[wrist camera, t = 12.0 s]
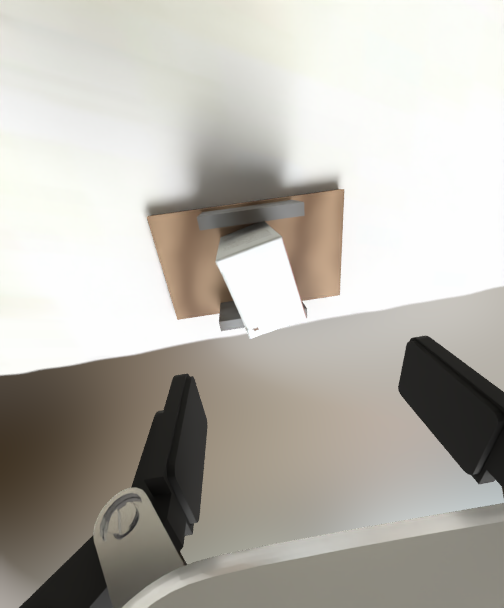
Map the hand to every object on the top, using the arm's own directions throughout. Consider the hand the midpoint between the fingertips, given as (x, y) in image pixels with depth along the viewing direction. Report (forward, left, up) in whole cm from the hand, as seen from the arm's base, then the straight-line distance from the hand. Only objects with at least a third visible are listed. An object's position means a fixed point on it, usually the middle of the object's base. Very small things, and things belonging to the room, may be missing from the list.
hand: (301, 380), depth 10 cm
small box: (0, 0, -21) cm, 21 cm away
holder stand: (0, 0, -22) cm, 22 cm away
